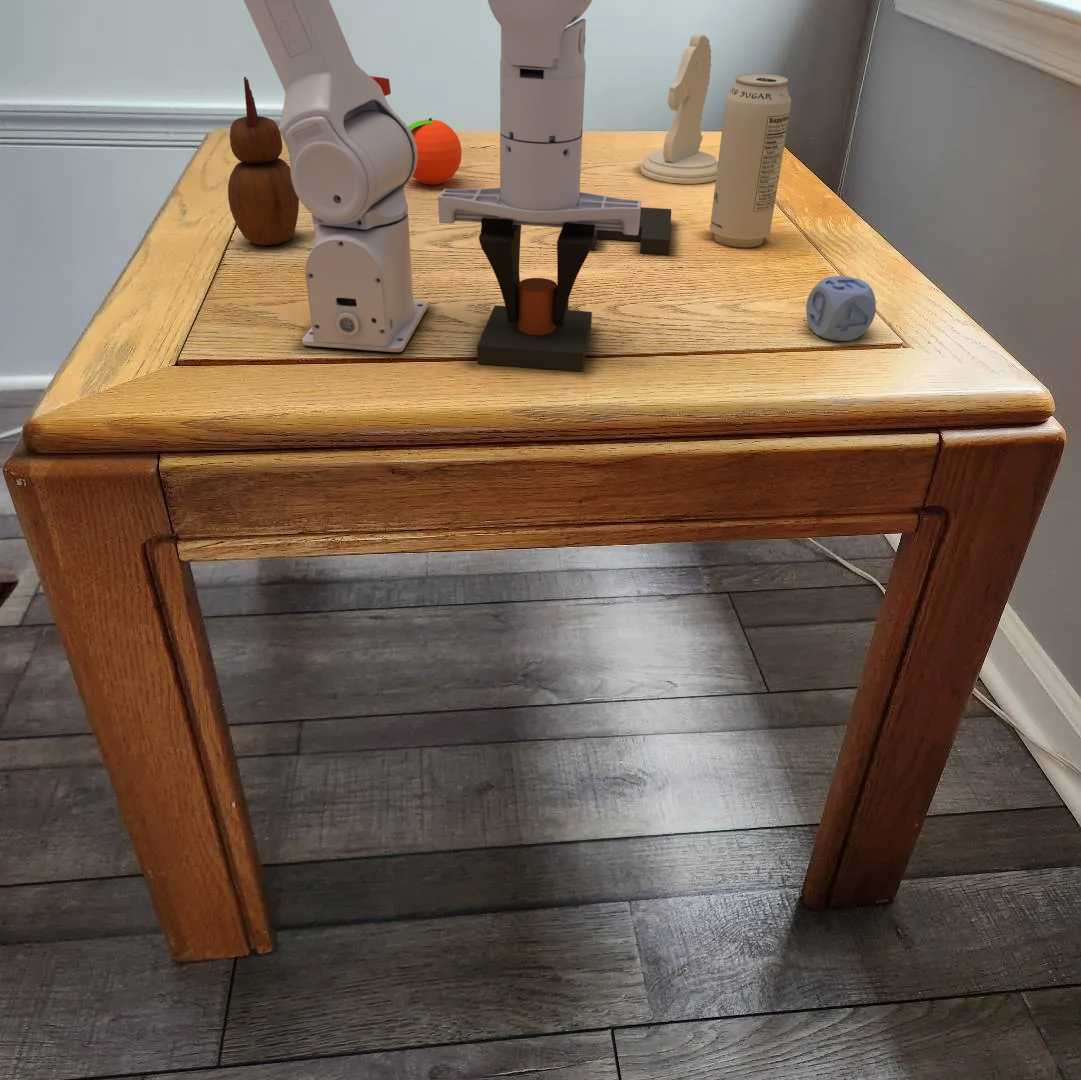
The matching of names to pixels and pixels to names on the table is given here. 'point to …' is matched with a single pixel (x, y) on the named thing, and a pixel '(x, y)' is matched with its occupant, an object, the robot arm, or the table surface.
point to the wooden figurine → (261, 179)
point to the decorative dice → (840, 308)
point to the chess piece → (686, 123)
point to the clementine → (435, 151)
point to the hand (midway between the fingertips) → (537, 319)
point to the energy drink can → (750, 159)
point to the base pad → (645, 232)
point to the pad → (535, 347)
